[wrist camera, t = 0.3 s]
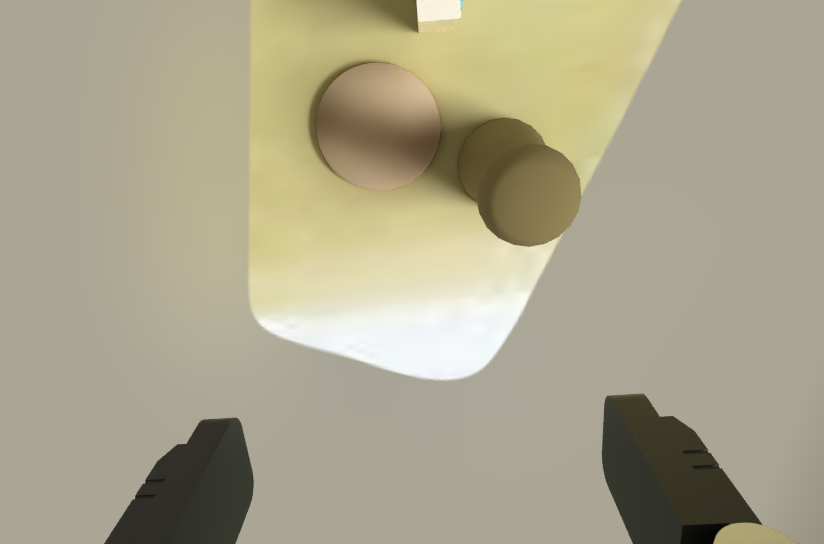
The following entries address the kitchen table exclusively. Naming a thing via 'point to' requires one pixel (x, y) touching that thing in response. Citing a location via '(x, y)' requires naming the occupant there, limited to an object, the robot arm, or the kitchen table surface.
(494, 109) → the kitchen table surface
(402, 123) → the disc
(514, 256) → the kitchen table surface
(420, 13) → the tile
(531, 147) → the pepper shaker
